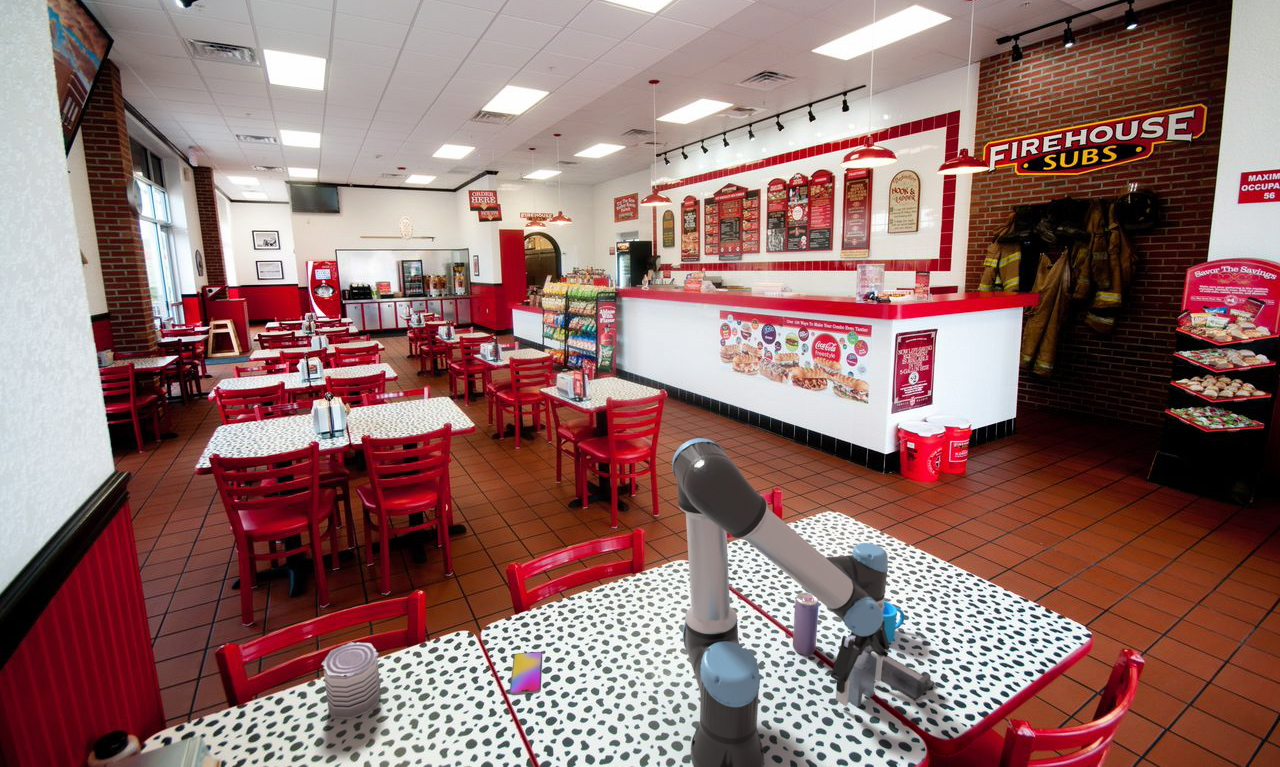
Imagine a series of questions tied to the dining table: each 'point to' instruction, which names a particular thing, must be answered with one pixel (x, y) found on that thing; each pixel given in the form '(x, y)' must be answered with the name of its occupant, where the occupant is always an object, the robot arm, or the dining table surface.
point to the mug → (891, 620)
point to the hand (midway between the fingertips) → (858, 689)
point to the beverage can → (805, 623)
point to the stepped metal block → (862, 678)
